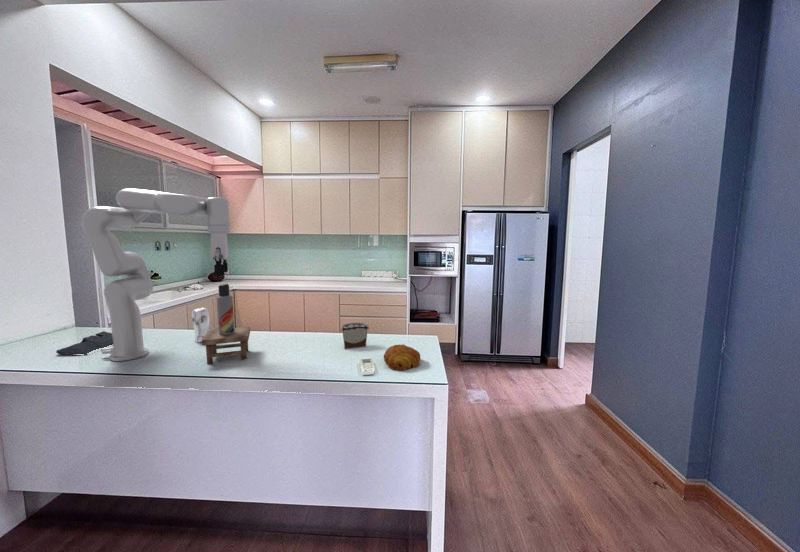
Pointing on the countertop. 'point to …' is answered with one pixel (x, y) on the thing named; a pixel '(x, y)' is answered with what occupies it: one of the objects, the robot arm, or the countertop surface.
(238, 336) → the walnut stool
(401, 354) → the croissant
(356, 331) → the food container
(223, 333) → the lotion bottle
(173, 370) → the countertop surface
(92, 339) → the dark slate chunk
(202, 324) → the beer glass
